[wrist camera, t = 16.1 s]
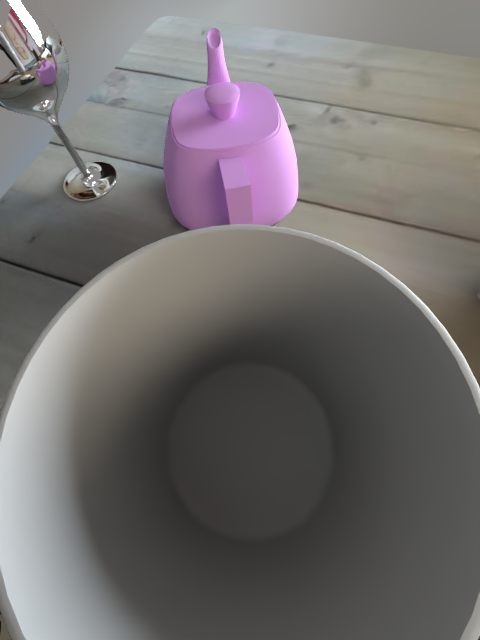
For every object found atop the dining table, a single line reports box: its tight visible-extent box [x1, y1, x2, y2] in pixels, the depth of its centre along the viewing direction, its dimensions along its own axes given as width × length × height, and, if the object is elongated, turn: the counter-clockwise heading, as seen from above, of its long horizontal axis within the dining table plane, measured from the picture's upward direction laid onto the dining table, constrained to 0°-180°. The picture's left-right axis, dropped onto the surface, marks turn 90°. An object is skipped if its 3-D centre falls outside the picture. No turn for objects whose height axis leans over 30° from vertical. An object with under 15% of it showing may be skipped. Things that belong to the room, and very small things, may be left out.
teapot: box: [164, 28, 298, 230], centre depth 29 cm, size 13×20×11 cm
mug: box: [0, 224, 480, 640], centre depth 9 cm, size 12×8×11 cm
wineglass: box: [0, 0, 117, 202], centre depth 28 cm, size 8×8×18 cm
